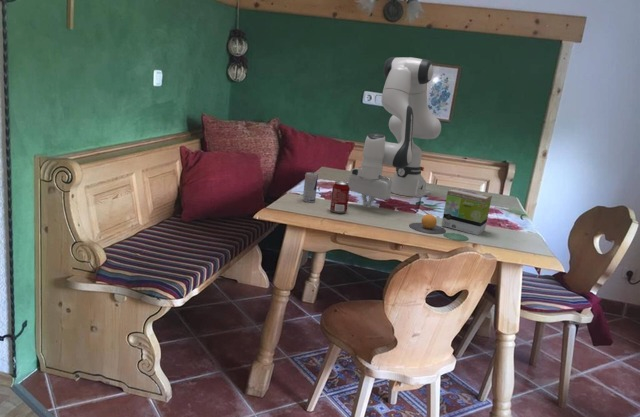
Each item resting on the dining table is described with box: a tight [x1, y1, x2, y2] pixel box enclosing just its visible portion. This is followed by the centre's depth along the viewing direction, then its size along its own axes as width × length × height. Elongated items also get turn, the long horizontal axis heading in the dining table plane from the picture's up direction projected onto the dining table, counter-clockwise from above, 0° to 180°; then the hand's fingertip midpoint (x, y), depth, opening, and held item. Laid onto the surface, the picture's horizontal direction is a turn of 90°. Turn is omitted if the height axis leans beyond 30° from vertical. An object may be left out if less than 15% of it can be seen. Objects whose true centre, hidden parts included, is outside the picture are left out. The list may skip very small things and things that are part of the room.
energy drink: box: [302, 172, 319, 203], centre depth 221 cm, size 5×5×12 cm
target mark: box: [408, 222, 447, 235], centre depth 199 cm, size 14×14×1 cm
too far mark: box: [443, 232, 469, 242], centre depth 192 cm, size 9×9×1 cm
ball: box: [421, 213, 437, 229], centre depth 198 cm, size 6×6×6 cm
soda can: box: [329, 180, 350, 214], centre depth 208 cm, size 7×7×12 cm
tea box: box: [441, 187, 493, 236], centre depth 203 cm, size 15×10×15 cm, turn 58°
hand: (366, 205), depth 218 cm, fingers closed
